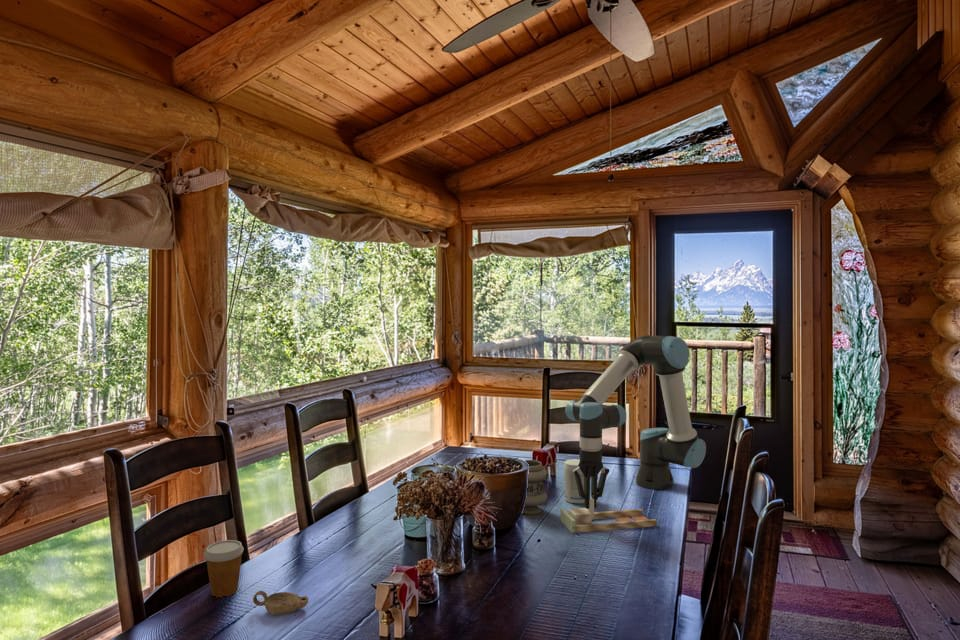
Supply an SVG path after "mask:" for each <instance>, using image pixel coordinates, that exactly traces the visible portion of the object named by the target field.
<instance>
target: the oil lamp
mask: <svg viewBox="0 0 960 640" xmlns="http://www.w3.org/2000/svg"><path fill="white" fill-rule="evenodd" d="M257 596H262V597H263V599H264V600H263V601H261V600H258V597H257ZM252 602H253V604H254V605H256V606H257V607H263V606H264V607H265V610H266V611H267V612H268V613H269V614H271V615H275V616H277V615H278V616H279V615H287V614H289V613H293V612H295V611H300V610H301V609H303V608H305V607H306V606H307V605H308V604H309V597H307V595H304V596H299V594H298V593H293V592H289V591H282V592H281V591H279V592H276V593H273V594H269V595H267V592H266V591H264V590H259V591H256V592H255V594H254V595H253V598H252Z"/></svg>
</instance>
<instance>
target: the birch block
mask: <svg viewBox="0 0 960 640" xmlns="http://www.w3.org/2000/svg"><path fill="white" fill-rule="evenodd" d="M568 514H569V515H570V516H571V517H572V518H573V519H574V520H575V525H584V524H593V523H592V520H593V519H592V514H591V513H590V512H589V511H588V510H587V509H586V508H585V507H579V508H577V507H575V508H568Z"/></svg>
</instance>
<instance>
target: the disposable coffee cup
mask: <svg viewBox="0 0 960 640" xmlns="http://www.w3.org/2000/svg"><path fill="white" fill-rule="evenodd" d="M243 553H244V546H243V544H242V542H241V541H239V540H234V539H227V540H220V541H219V540H218V541H216V542H213V543H211V544H210V545H208V546H207V547H206V548H205V551H204V553H203V556H204V559H205V560H206V565H207V566H206V567H207V572H208V573H207V574H208V579H209V580H208V581H209V586H210V592H211V596H212V595H213V596H216V597H215V598H218V597H221V598H223V597H222V596H227V597H230V596H233V595H235V594H236V593H237V592H238V590H239V580H240V573H241V572H240V571H241V562H242V556H243ZM236 591H237V592H236ZM235 592H236V593H235ZM232 594H233V595H232ZM229 595H230V596H229ZM213 596H212V597H213Z"/></svg>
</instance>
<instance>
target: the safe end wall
mask: <svg viewBox="0 0 960 640" xmlns="http://www.w3.org/2000/svg"><path fill="white" fill-rule="evenodd" d="M559 511H560V519H559V521H560V522H561V523H562V524H563V525H564V526H565V527H566V528H567V529H568V530H569V532H571V534H574V533H575V520H574V519H573V518H572V517H571V516H570V515H569V512H568V511H566V510H565V508H560V510H559ZM573 527H574V528H573ZM573 532H574V533H573Z"/></svg>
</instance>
